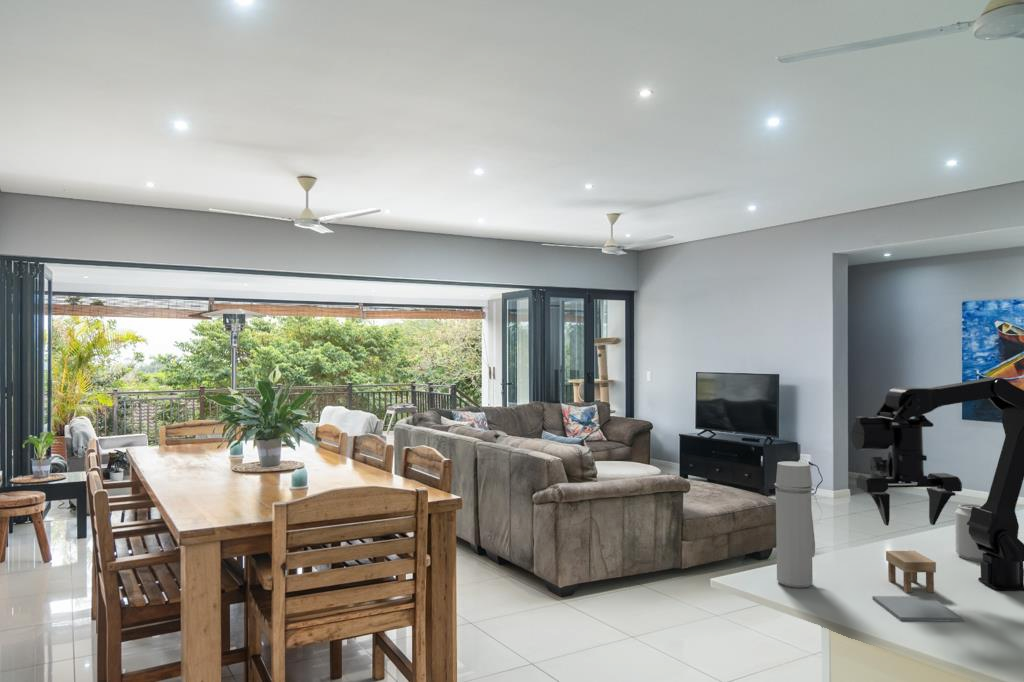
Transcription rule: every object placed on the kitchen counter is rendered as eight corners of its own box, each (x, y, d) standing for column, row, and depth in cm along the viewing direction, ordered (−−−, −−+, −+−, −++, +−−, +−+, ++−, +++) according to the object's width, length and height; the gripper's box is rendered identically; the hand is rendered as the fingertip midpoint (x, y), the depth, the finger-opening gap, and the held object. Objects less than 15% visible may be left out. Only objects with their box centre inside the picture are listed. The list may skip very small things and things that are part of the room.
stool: (915, 580, 150) (915, 550, 150) (936, 593, 142) (935, 562, 142) (886, 580, 150) (885, 550, 150) (905, 593, 142) (904, 562, 142)
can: (993, 555, 167) (992, 504, 167) (994, 564, 160) (993, 510, 161) (956, 551, 171) (955, 501, 171) (955, 559, 164) (954, 507, 165)
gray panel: (930, 599, 138) (930, 596, 138) (963, 621, 127) (963, 617, 127) (872, 599, 139) (872, 596, 139) (900, 620, 128) (900, 617, 128)
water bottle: (795, 591, 143) (793, 467, 144) (767, 580, 151) (765, 462, 151) (829, 585, 147) (827, 464, 147) (800, 574, 154) (798, 459, 155)
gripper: (932, 442, 154) (934, 515, 154) (844, 444, 155) (846, 516, 155) (962, 450, 143) (964, 528, 143) (867, 451, 144) (869, 529, 143)
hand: (909, 524), depth 146 cm, fingers open, 9 cm apart
